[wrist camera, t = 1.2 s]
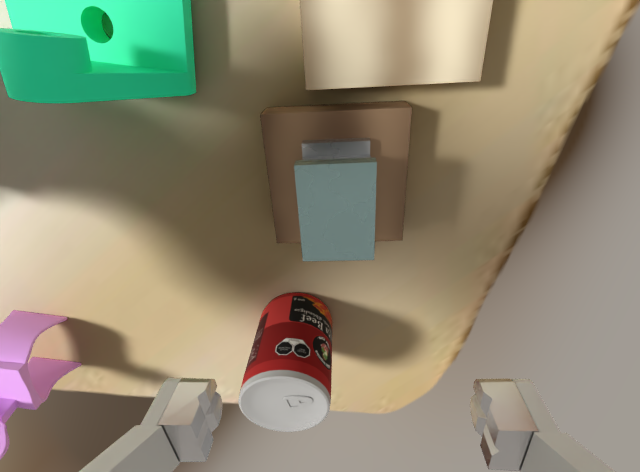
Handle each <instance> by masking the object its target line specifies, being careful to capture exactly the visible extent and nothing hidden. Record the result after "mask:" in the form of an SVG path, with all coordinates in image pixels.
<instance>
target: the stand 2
mask: <svg viewBox="0 0 640 472" xmlns="http://www.w3.org/2000/svg"><path fill="white" fill-rule="evenodd" d="M411 113H412V107H411V106H410V105H409V104H408V103H407V102H406V101H392V102H371V103H351V104H330V105H310V106H289V107H269V108H266V109H265V110H264V111H263V112H262V113H261V114H260V118H261V125H262V133H263V140H264V148H265V155H266V163H267V171H268V178H269V186H270V193H271V201H272V208H273V216H274V223H275V231H276V238H277V243H301V236H300V225H299V214H298V203H297V193H296V182H295V171H294V164H295V161H296V160H302V157H303V156H302V141H303V140H320V139H344V138H368V137H369V138H370V156H371V157H375V158H376V161H377V175H376V211H375V241H395V240H402V237H403V223H404V210H405V196H406V182H407V168H408V155H409V141H410V127H411Z"/></svg>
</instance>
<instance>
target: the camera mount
mask: <svg viewBox="0 0 640 472" xmlns="http://www.w3.org/2000/svg"><path fill="white" fill-rule="evenodd" d="M5 3H6V6H7V10H8V13H9V17H10V20H11V24H12V28H13V29H6V28H0V72H1V75H2V78H3V82H4V85H5V88H6V91H7V94H8V97H9V98H12V99H15V100H19V101H26V102H35V103H80V102H95V101H111V100H126V99H141V98H157V97H172V96H188V95H191V94H194V93H196V79H195V63H194V46H193V30H192V13H191V0H5ZM104 12H105V13H106V14H107V15H108V16H109V18H110V19H111V22H112V25H113V36H112V38H111V39H110V38H109V37H108V36H107V35H106V33H105V31H104V29H103V26H102V16H103V14H104Z"/></svg>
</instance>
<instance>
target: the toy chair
mask: <svg viewBox="0 0 640 472" xmlns="http://www.w3.org/2000/svg"><path fill="white" fill-rule="evenodd" d="M66 320H68V319H67V317H62V316H55V315H47V314H39V313H31V312H24V311H16V310H13V311H12V312H11V313H10V315H9V316H8V317H7V318H6V319H5V320H4V321H3V322H2V323H1V324H0V459H1V458H2V457H3V456H4V455H5V453H6V452H7V450H8V447H9V437H8V433H7V426H6V425H5V423H6V421H7V420H8V419H9V417H10V416H11V415H12V414H13V412H14V411H15V410H16V408H17V407H20V408H25V409H33V410H36V409H37V408H38V407H39V405H40V404H41V403H42V402H44V401H46V399H47V398H48V395H49V393H50V391H51V389H52V387H53V386H54V384H55V383H56V382H57V381H58V380H59V379H60V378H61V377H63V376H64V375H66V374H67V373H69V372H70V371H72V370H74V369H76V368H77V367H79V366H81V365H82V364H81V363H79V362H71V361H63V360H55V359H47V358H39V357H32V358H31V359H30V361H29V363H28V360H29V357H30V354H31V350H32V347H33V344H34V342H35V340H36V338H37V337H38V336H39V335H40V334H41V333H42V332H44V331H45V330H47V329H48V328H50V327H52V326H54V325H56V324H59V323H61V322H63V321H66Z"/></svg>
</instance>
